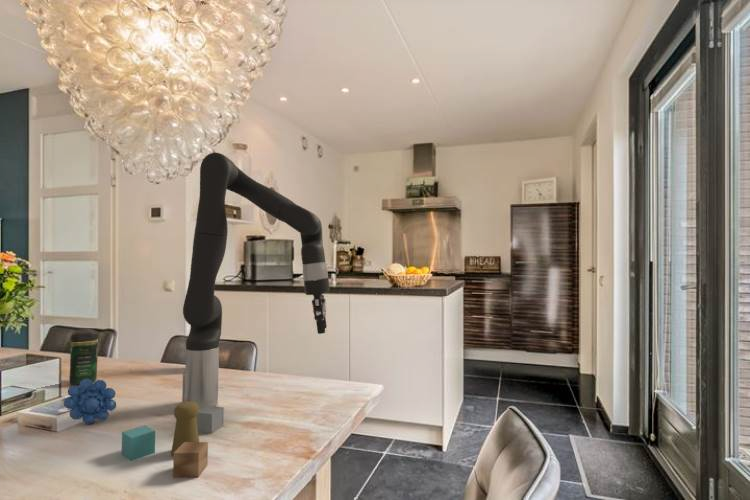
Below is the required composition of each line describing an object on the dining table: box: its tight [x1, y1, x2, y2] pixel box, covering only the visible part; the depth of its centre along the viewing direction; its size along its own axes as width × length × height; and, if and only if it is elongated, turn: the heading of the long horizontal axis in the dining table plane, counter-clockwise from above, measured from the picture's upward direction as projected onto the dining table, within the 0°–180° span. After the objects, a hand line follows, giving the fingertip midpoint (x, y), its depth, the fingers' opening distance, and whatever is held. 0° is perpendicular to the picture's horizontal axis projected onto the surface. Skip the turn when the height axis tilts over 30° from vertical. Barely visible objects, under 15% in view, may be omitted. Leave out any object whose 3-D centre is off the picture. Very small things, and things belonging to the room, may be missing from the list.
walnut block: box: [172, 441, 209, 479], centre depth 87 cm, size 5×5×5 cm
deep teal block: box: [121, 425, 156, 462], centre depth 94 cm, size 5×5×5 cm
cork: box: [170, 401, 200, 458], centre depth 95 cm, size 6×6×11 cm
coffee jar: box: [69, 328, 99, 387], centre depth 147 cm, size 10×8×19 cm
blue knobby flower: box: [63, 379, 117, 425], centre depth 110 cm, size 12×7×12 cm, turn 128°
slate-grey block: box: [196, 405, 225, 434], centre depth 108 cm, size 5×5×5 cm
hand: (322, 330), depth 128 cm, fingers open, 8 cm apart
